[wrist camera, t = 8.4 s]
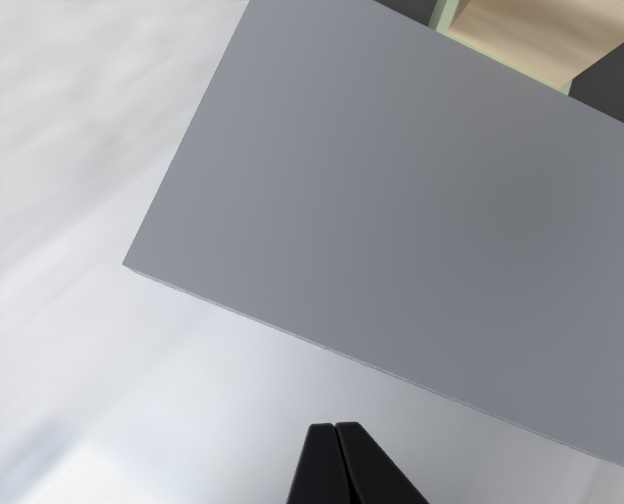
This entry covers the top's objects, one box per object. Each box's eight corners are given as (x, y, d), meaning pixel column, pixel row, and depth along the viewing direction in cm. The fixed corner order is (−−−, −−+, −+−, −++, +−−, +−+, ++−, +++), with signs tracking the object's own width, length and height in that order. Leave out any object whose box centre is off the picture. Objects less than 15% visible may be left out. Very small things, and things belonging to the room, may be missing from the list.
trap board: (589, 454, 23) (673, 484, 19) (136, 272, 21) (112, 258, 17) (684, 62, 28) (769, 13, 24) (324, -123, 26) (344, -216, 21)
